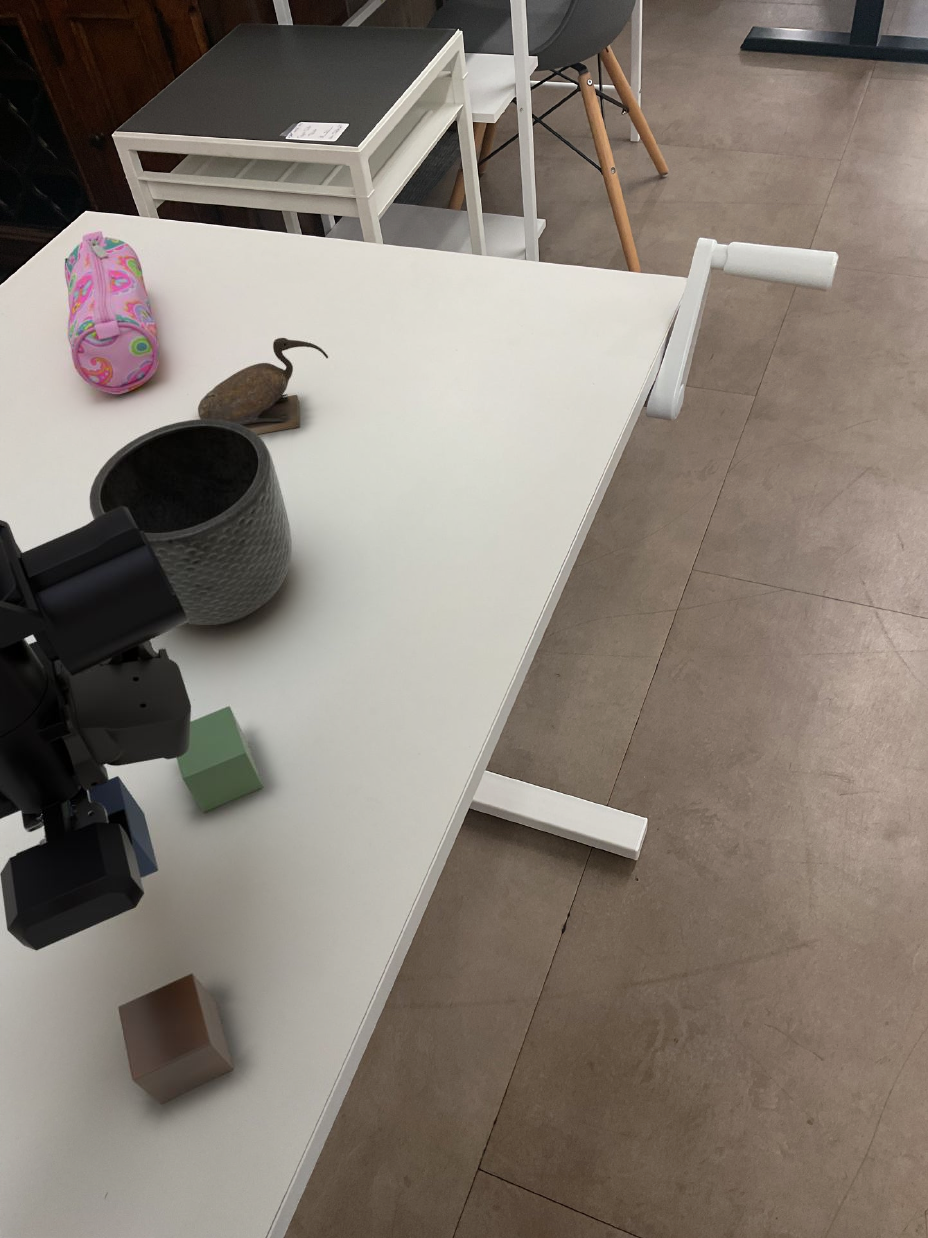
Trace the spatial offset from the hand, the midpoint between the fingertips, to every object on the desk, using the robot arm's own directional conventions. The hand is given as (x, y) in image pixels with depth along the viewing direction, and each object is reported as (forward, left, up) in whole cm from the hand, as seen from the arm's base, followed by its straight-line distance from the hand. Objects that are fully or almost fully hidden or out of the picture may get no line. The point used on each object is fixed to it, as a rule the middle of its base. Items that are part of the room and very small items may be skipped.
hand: (109, 849), depth 62 cm
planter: (+12, +25, -8) cm, 29 cm away
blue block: (0, 0, -1) cm, 1 cm away
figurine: (+22, +46, -8) cm, 52 cm away
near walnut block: (0, -11, -7) cm, 13 cm away
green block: (+7, +7, -7) cm, 13 cm away
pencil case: (+11, +69, -8) cm, 70 cm away
